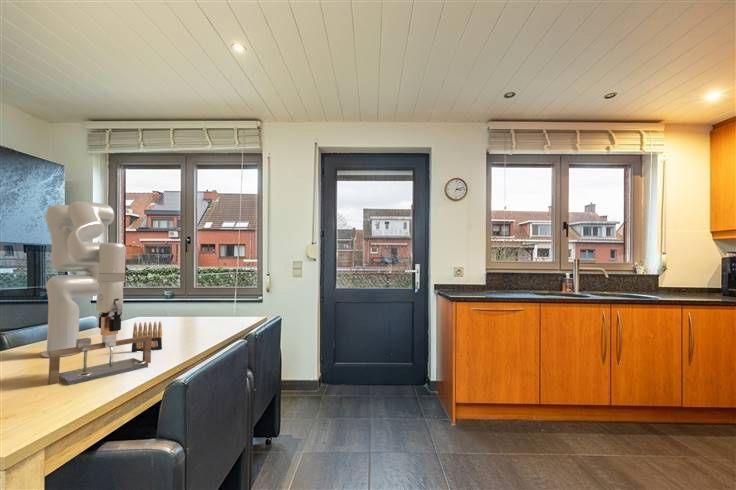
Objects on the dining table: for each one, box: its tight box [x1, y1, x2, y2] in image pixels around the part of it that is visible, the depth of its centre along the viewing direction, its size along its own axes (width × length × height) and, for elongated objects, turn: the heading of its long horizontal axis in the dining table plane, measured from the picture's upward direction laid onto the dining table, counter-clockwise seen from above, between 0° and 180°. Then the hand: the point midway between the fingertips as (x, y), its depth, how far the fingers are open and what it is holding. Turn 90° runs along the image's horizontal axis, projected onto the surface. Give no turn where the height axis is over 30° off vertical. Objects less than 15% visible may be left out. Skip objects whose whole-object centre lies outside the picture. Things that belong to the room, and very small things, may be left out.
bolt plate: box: [59, 357, 149, 386], centre depth 116 cm, size 12×23×1 cm, turn 145°
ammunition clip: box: [131, 320, 163, 353], centre depth 144 cm, size 11×2×12 cm, turn 116°
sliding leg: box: [100, 315, 119, 367], centre depth 117 cm, size 5×4×16 cm
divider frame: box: [48, 334, 153, 385], centre depth 116 cm, size 4×28×12 cm, turn 145°
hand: (109, 329), depth 117 cm, fingers open, 8 cm apart
